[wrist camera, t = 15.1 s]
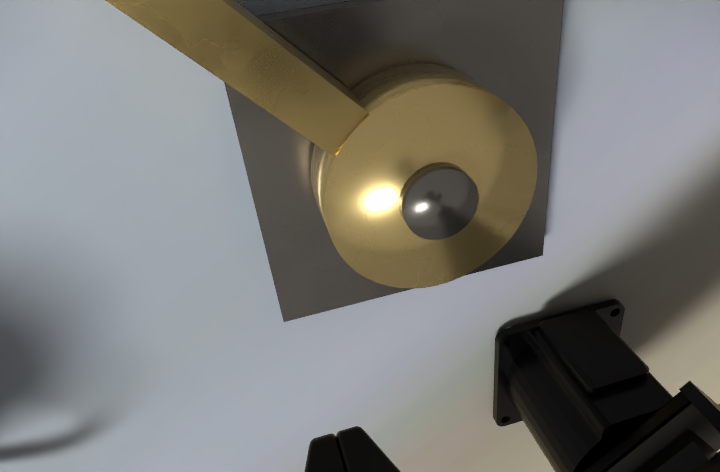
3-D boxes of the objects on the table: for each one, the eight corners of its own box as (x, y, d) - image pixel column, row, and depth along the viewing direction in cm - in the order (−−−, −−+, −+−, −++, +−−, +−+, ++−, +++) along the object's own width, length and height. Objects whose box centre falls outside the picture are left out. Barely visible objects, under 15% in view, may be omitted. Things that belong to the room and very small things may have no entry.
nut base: (533, 245, 24) (542, 255, 24) (280, 309, 23) (283, 321, 22) (552, -35, 18) (565, -32, 18) (210, 24, 17) (211, 30, 16)
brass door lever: (538, 140, 21) (587, 176, 18) (412, 277, 22) (441, 328, 20) (121, -246, 13) (105, -279, 10) (-22, 17, 14) (-66, 46, 12)
